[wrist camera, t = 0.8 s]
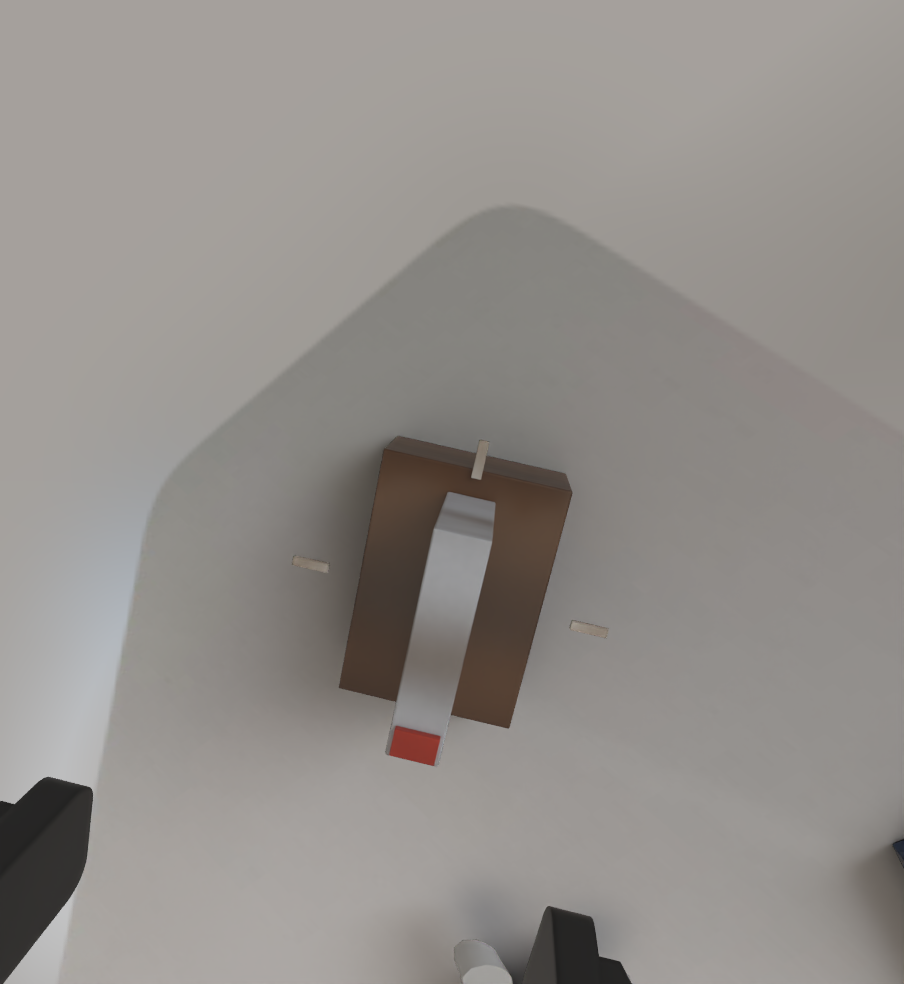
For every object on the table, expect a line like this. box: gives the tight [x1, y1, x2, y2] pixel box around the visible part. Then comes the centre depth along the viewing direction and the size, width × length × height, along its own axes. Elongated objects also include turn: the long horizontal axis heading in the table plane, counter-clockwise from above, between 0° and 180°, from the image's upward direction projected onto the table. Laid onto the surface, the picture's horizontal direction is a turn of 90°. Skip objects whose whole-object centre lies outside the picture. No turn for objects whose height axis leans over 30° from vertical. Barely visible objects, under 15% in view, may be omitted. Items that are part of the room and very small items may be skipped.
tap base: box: [292, 436, 609, 728], centre depth 27 cm, size 12×12×3 cm
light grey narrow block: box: [385, 492, 496, 767], centre depth 23 cm, size 8×2×5 cm, turn 168°
